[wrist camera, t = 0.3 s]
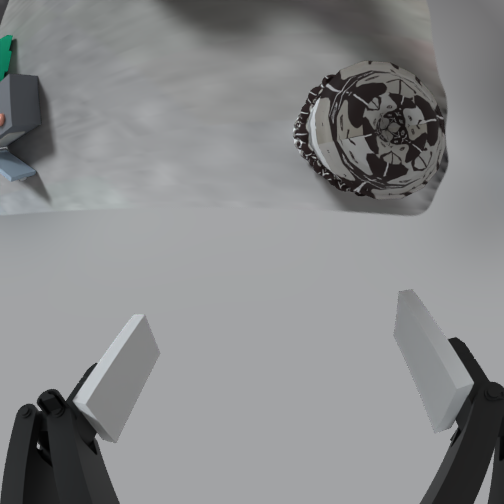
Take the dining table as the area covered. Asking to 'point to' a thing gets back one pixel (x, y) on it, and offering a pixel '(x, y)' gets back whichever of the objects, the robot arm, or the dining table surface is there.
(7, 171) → the side door
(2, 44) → the camera mount
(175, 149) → the dining table surface
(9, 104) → the housing
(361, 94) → the decorative candle
